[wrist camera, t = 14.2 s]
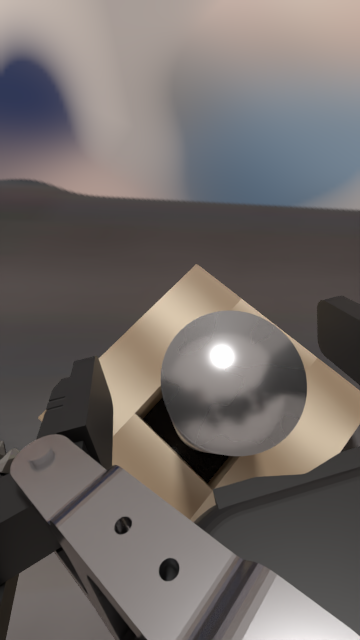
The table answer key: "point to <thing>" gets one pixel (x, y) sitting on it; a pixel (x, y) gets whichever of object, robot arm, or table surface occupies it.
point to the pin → (233, 384)
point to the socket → (145, 392)
